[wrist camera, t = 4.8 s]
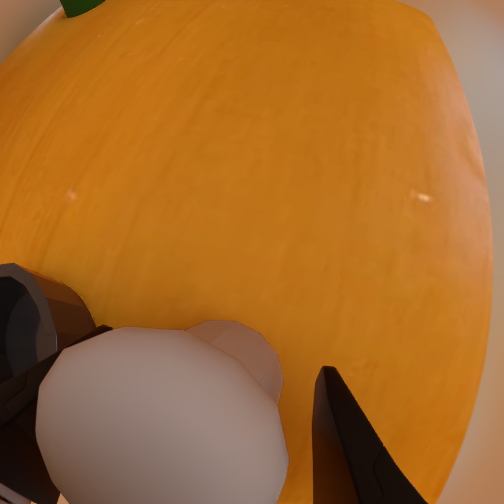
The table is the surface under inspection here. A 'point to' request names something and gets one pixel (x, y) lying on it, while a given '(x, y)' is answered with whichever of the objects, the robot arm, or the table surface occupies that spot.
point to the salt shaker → (165, 417)
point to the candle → (78, 6)
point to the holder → (36, 318)
